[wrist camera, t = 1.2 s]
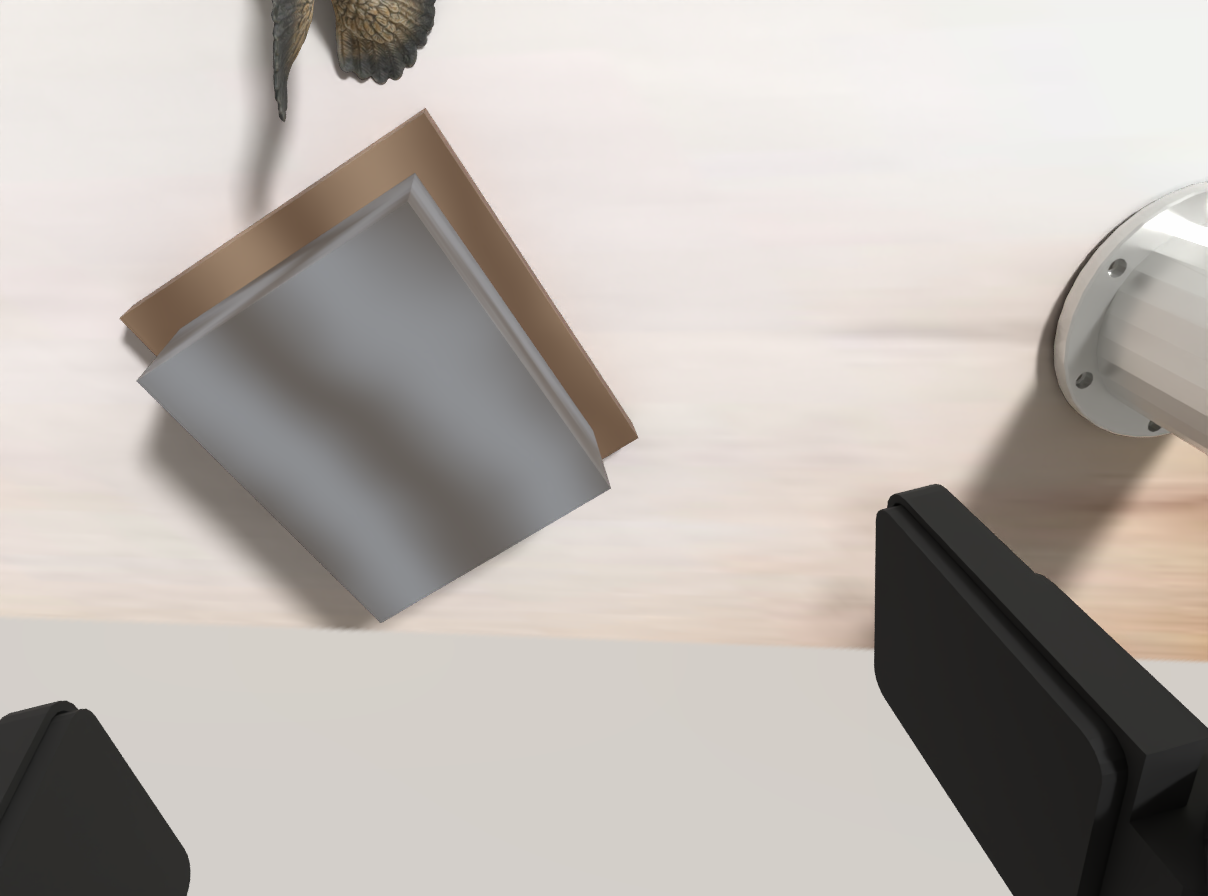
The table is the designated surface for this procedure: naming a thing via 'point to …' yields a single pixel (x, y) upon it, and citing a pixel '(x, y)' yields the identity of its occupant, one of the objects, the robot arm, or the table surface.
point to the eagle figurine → (353, 37)
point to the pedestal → (385, 373)
